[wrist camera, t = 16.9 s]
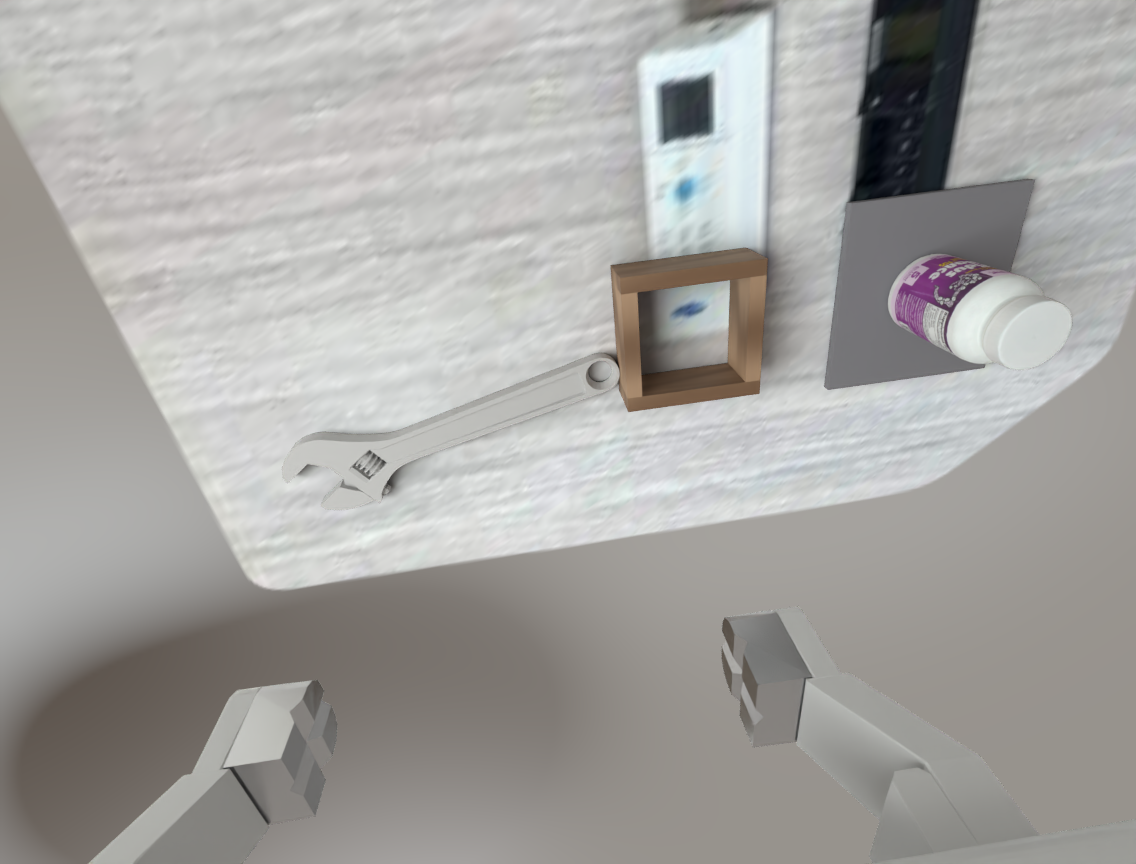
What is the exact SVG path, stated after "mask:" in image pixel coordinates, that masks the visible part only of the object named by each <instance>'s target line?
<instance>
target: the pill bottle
mask: <svg viewBox="0 0 1136 864" xmlns="http://www.w3.org/2000/svg"><path fill="white" fill-rule="evenodd" d="M888 310H889V313H890V315H891V317H892V319H893V321H894V322H895V323H896V324H897V325H899V326H900V327H902V328H904V329H906V330H907V331H909V332H911V333H913V334H915V335H917V336H919V337H921V338H923V339H924V340H926V341H928V342H930V343H932V344H934V345H936V346H938V347H940V348H942V349H943V350H945V351H947V352H949V353H951V354H953V355H955V356H957V357H959V358H960V359H963V360H965V361H968V362H971V363H976V364H989V363H997V364H1000V365H1002V366H1005V367H1007V368H1009V369H1013V370H1027V369H1031V368H1035V367H1037V366H1039V365H1041V364H1043V363H1045V362H1046V361H1048V360H1049V359H1051V358H1052V357H1053V356H1054V355H1055V354H1056V353H1057V352H1058V351H1059V350H1060V349H1061V348H1062V347H1063V345H1064V344H1065V342H1066V340H1067V339H1068V336H1069V334H1070V332H1071V328H1072V316H1071V312H1070V311H1069V309H1068V308H1067V307H1066V306H1065V305H1064V304H1062V303H1060V302H1058V301H1055V300H1053V299H1050V298H1047V297H1045V296H1044V294H1043V292H1042V290H1041V289H1040V287H1039V286H1038V285H1037V284H1036V283H1035V282H1033V281H1032V280H1030V279H1028V278H1026V277H1023V276H1020V275H1017V274H1014V273H1010V272H1007V271H1004V270H1000V269H996V268H993V267H989V266H986V265H983V264H979V263H977V262H973V261H968V260H965V259H962V258H958V257H954V256H951V255H946V254H931V255H927V256H924V257H921V258H919V259H917V260H915V261H913V262H912V263H911V264H909V265H908V266H907V267H906V268H905V269H904V270H903V271H902V272H901V273H900V274H899V275H898V277H897V278H896V280H895V281H894V283H893V285H892V287H891V290H890V293H889V297H888Z"/></svg>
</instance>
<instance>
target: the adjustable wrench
mask: <svg viewBox="0 0 1136 864" xmlns="http://www.w3.org/2000/svg"><path fill="white" fill-rule="evenodd" d="M597 361H605V362H607V363H608V364H609V365H610V367H611V375H610V377H609V378H608V379H607V380H605V381H603V382H595V381H593V380H592V379H590V377H589V374H588V371H589V368H590V366H591V365H592V364H593V363H595V362H597ZM619 376H620V372H619V368H618V366H617V364H616V362H615V360H614V359H613V358H612V357H611V356H610V355H608V354H605V353H596V354H592V355H590V356H587V357H585V358H582V359H580V360H577V361H574V362H572V363H569V364H567V365H564V366H562V367H559V368H557V369H554V370H551V371H549V372H546V373H544V374H541V375H539V376H536V377H534V378H531V379H528V380H526V381H523V382H521V383H518V384H516V385H513V386H511V387H508V388H505V389H503V390H500V391H498V392H495V393H493V394H490V395H488V396H485V397H483V398H480V399H477V400H475V401H472V402H470V403H467V404H465V405H462V406H460V407H457V408H454V409H452V410H449V411H447V412H444V413H442V414H439V415H437V416H434V417H431V418H429V419H426V420H424V421H421V422H419V423H416V424H414V425H411V426H408V427H406V428H403V429H401V430H397V431H394V432H390V433H381V434H346V433H333V432H317V433H313V434H310V435H307V436H305V437H303V438H301V439H300V440H299V441H298V442H296V443H295V445H294V446H293V448H292V449H291V451H290V452H289V454H288V455H287V457H286V458H285V461H284V464H283V466H282V475H283V479H284V481H285V482H286V483H289V482H290V481H291V480H292V479H293V478H294V477H295V476H296V475H297V474H298V473H299V472H300V471H301V470H302V469H303V468H304V467H305V466H306V465H307V464H310V465H315V466H321V467H326V468H330V469H332V470H333V471H334V472H336V473H337V474H338V475H340V476H341V477H343V479H342V480H341V481H340V482H339V483H338V484H337V485H336V486H335V487H334V488H333V489H332V490H331V491H330V492H329V493H328V494H327V495H326V496H325V497H324V500H323V502H322V504H321V506H322V507H323V508H325V509H328V510H347V509H353V508H357V507H360V506H363V505H365V504H367V503H370V502H372V501H374V500H376V501H377V502H378V503H380V502H381V500H382V498H383V495H386V494H387V493H388V492H389V491H390V489H391V486H390V485H388V484H387V481H388V480H389V478H390V477H391V475H392V474H393V473H394V472H395V471H396V470H397V469H398V468H400V467H401V466H403V465H404V464H406V463H408V462H411V461H413V460H415V459H418V458H421V457H424V456H427V455H429V454H432V453H435V452H438V451H441V450H443V449H446V448H449V447H452V446H455V445H458V444H460V443H463V442H466V441H469V440H472V439H474V438H477V437H480V436H483V435H486V434H488V433H491V432H494V431H497V430H500V429H502V428H505V427H508V426H511V425H514V424H516V423H519V422H522V421H525V420H528V419H530V418H533V417H536V416H539V415H542V414H544V413H547V412H550V411H553V410H556V409H559V408H561V407H564V406H567V405H570V404H573V403H575V402H578V401H581V400H584V399H587V398H589V397H592V396H595V395H598V394H601V393H603V392H606V391H608V390H610V389H612V388H613V387H614V386H615V385H616V384H617V382H618V380H619ZM382 460H384V461H382Z"/></svg>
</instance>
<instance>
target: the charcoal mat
mask: <svg viewBox="0 0 1136 864" xmlns="http://www.w3.org/2000/svg"><path fill="white" fill-rule="evenodd" d="M1034 181H1035V180H1033V179H1023V180H1015V181H1008V182H1000V183H992V184H985V185H977V186H969V187H962V188H954V189H946V190H939V191H931V192H923V193H916V194H908V195H900V196H893V197H885V198H877V199H870V200H862V201H854V202H847V206H846V214H845V222H844V230H843V238H842V246H841V254H840V263H839V271H838V279H837V287H836V295H835V303H834V311H833V320H832V328H831V336H830V344H829V352H828V360H827V368H826V376H825V385H824V387H825V388H827V389H828V390H831V389H838V388H845V387H852V386H859V385H866V384H873V383H880V382H887V381H895V380H902V379H909V378H916V377H923V376H930V375H937V374H944V373H952V372H959V371H966V370H973V369H980V368H984V367H985V364H976V363H971V362H968V361H965V360H963V359H960V358H959V357H957V356H955V355H953V354H951V353H949V352H947V351H945V350H943V349H942V348H940V347H938V346H936V345H934V344H932V343H930V342H928V341H926V340H924V339H923V338H921V337H919V336H917V335H915V334H913V333H911V332H909V331H907V330H906V329H904V328H902V327H900V326H899V325H897V324H896V323H895V322H894V321H893V319H892V317H891V315H890V313H889V310H888V297H889V293H890V290H891V287H892V285H893V283H894V281H895V280H896V278H897V277H898V275H899V274H900V273H901V272H902V271H903V270H904V269H905V268H906V267H907V266H908V265H909V264H911V263H912V262H913V261H915V260H917V259H919V258H921V257H924V256H927V255H931V254H946V255H951V256H954V257H958V258H962V259H965V260H968V261H973V262H977V263H979V264H983V265H986V266H989V267H993V268H996V269H1000V270H1004V271H1007V272H1010V271H1011V267H1012V263H1013V260H1014V256H1015V252H1016V248H1017V245H1018V241H1019V237H1020V234H1021V230H1022V226H1023V222H1024V219H1025V215H1026V211H1027V207H1028V204H1029V200H1030V196H1031V193H1032V189H1033V185H1034Z"/></svg>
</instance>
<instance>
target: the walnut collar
mask: <svg viewBox="0 0 1136 864" xmlns="http://www.w3.org/2000/svg"><path fill="white" fill-rule="evenodd" d="M767 264H768V258H766V257H764V256H762V255H760V254H758V253H756V252H754V251H752V250H750V249H748V248H739V249H732V250H724V251H717V252H709V253H702V254H694V255H686V256H679V257H671V258H664V259H656V260H649V261H641V262H633V263H626V264H618V265H611V279H612V293H613V307H614V321H615V335H616V349H617V364H618V368H619V372H620V376H619V391H620V393H621V396H622V398H623V400H624V403H625V405H626V407H627V410H628V412H632V411H639V410H646V409H653V408H661V407H668V406H675V405H682V404H689V403H696V402H703V401H711V400H718V399H725V398H732V397H739V396H746V395H753V394H759V392H760V376H761V360H762V344H763V328H764V312H765V296H766V280H767ZM727 280H730V305H729V337H728V363H725V364H717V365H710V366H703V367H696V368H688V369H681V370H674V371H667V372H660V373H652V374H645V375H641V357H640V337H639V317H638V296H637V292H644V291H652V290H659V289H667V288H674V287H682V286H689V285H697V284H704V283H712V282H719V281H727Z"/></svg>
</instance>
